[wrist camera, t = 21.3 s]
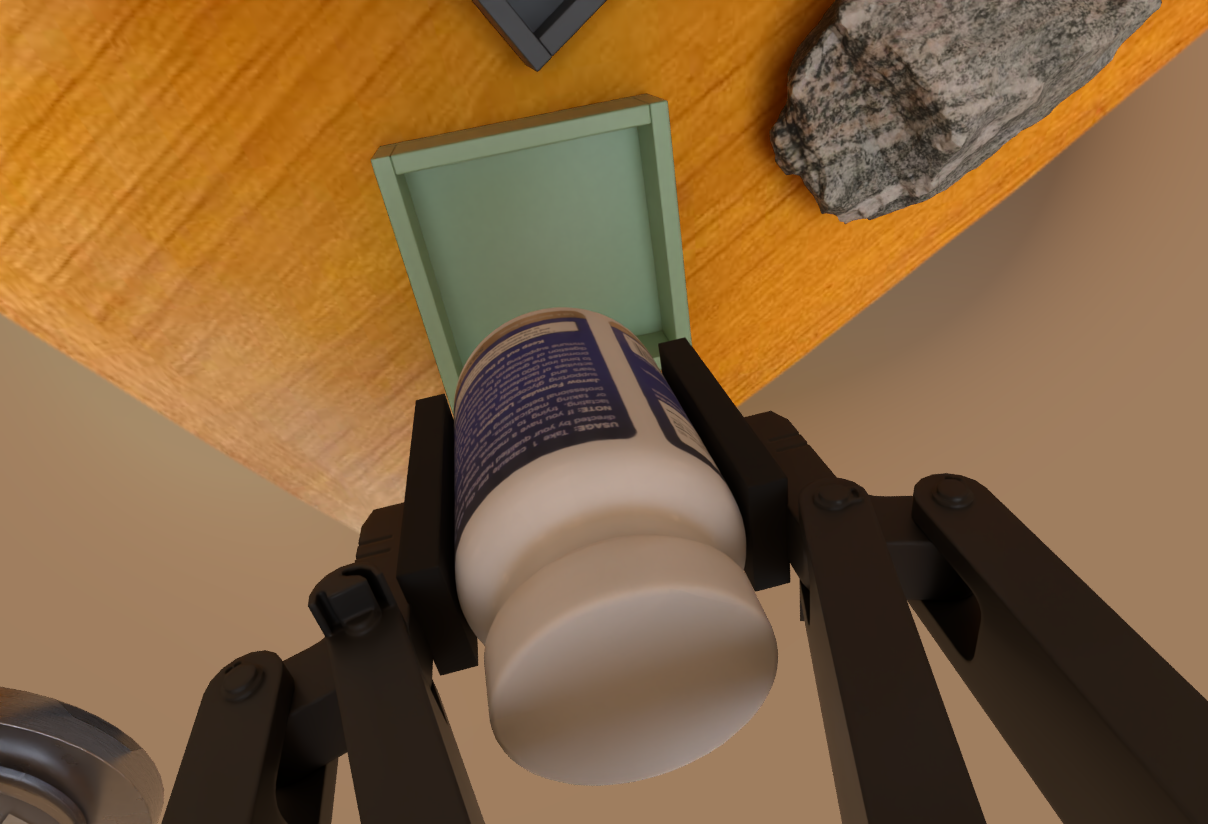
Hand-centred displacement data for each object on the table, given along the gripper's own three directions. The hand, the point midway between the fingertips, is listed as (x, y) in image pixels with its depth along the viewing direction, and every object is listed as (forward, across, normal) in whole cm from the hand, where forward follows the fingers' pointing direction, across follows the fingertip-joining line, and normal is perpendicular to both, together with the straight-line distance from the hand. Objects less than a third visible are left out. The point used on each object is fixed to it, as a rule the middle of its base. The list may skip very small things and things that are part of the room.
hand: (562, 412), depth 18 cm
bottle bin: (+18, +1, -1) cm, 18 cm away
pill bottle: (+1, 0, 0) cm, 1 cm away
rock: (+18, +21, +5) cm, 28 cm away
